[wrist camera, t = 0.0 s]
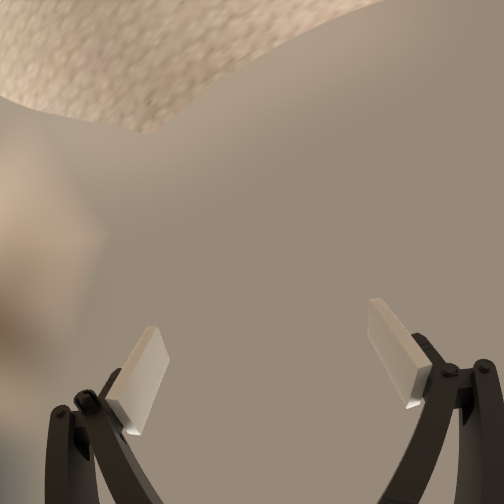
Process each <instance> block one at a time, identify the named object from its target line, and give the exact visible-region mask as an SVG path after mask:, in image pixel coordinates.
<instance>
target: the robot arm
mask: <svg viewBox="0 0 504 504" xmlns="http://www.w3.org/2000/svg"><path fill="white" fill-rule="evenodd" d="M367 336H368V338H369V340H370V342H371V344H372V345H373V347H374V349H375V351H376V353H377V354H378V356H379V358H380V360H381V362H382V364H383V365H384V367H385V369H386V371H387V373H388V375H389V377H390V378H391V380H392V382H393V384H394V386H395V388H396V390H397V392H398V394H399V396H400V398H401V399H402V402H403V404H404V405H405V407H406V409H407V408H410V407H413V406H416V405H419V404H420V401H421V399H422V397H423V398H424V400H425V405H424V407H423V410H422V412H421V415H420V418H419V420H418V423H417V425H416V428H415V430H414V433H413V435H412V437H411V440H410V442H409V444H408V447H407V449H406V451H405V453H404V455H403V457H402V459H401V461H400V463H399V465H398V467H397V469H396V471H395V473H394V475H393V476H392V478H391V480H390V482H389V484H388V485H387V487H386V489H385V491H384V492H383V494H382V496H381V497H380V499H379V501H378V502H377V504H418V503H419V501H420V499H421V497H422V495H423V493H424V491H425V489H426V486H427V484H428V482H429V479H430V477H431V474H432V472H433V470H434V467H435V465H436V462H437V459H438V456H439V454H440V451H441V448H442V445H443V442H444V439H445V436H446V433H447V430H448V426H449V423H450V419H451V416H452V412H453V409H457V408H459V461H458V475H457V486H456V494H455V501H454V504H504V401H503V396H502V392H501V387H500V382H499V378H498V374H497V370H496V367H495V365H494V363H493V362H491V361H489V360H487V359H480V360H478V361H476V362H475V364H474V366H473V368H470V369H459V368H458V367H457V366H456V365H454V364H451V363H446V362H445V361H444V360H443V358H442V357H441V356H440V354H439V353H438V352H437V351H436V350H435V348H433V346H432V345H431V344H430V342H429V341H428V340H427V338H426V337H425V336H423V335H421V334H419V333H415V334H411V335H410V333H409V332H408V331H407V330H406V328H405V327H404V326H403V324H402V323H401V322H400V321H399V319H398V318H397V317H396V316H395V314H394V313H393V312H392V311H391V310H390V308H389V307H388V306H387V305H386V303H385V302H384V301H383V300H382V299H381V298H376V299H370V301H369V320H368V334H367ZM169 361H170V359H169V356H168V353H167V351H166V348H165V346H164V343H163V340H162V337H161V334H160V332H159V329H158V326H152V327H147V328H146V329H145V331H144V333H143V334H142V336H141V337H140V339H139V341H138V343H137V344H136V346H135V347H134V349H133V351H132V353H131V354H130V356H129V358H128V359H127V361H126V363H125V364H124V366H123V368H118V369H116V370H115V371H114V372H113V373H112V374H111V375H110V377H109V379H108V381H107V382H106V384H105V386H104V387H103V389H102V391H101V392H100V394H99V396H98V397H97V395H96V394H95V392H94V391H92V390H87V389H86V390H83V391H81V392H79V393H78V394H77V395H76V396H75V398H74V403H75V405H76V406H77V408H78V409H79V411H71V410H70V408H69V407H68V406H66V405H60V406H57V407H56V408H54V409H53V411H52V412H51V415H50V423H49V430H48V439H47V449H46V464H45V504H100V503H99V498H98V491H97V483H96V473H95V462H94V454H95V457H96V459H97V462H98V465H99V467H100V469H101V472H102V474H103V477H104V479H105V481H106V484H107V486H108V488H109V490H110V492H111V494H112V497H113V499H114V501H115V503H116V504H164V503H163V502H162V500H161V499H160V497H159V496H158V495H157V493H156V491H155V490H154V488H153V487H152V485H151V483H150V482H149V480H148V479H147V477H146V475H145V474H144V472H143V470H142V469H141V467H140V465H139V463H138V462H137V460H136V458H135V456H134V454H133V452H132V451H131V449H130V447H129V445H128V443H127V441H126V439H125V437H124V435H123V434H122V430H123V427H124V428H125V430H126V431H127V432H128V434H135V435H141V433H142V430H143V428H144V425H145V422H146V420H147V417H148V415H149V412H150V409H151V407H152V404H153V402H154V399H155V396H156V394H157V391H158V389H159V386H160V384H161V381H162V378H163V376H164V374H165V371H166V369H167V366H168V363H169Z"/></svg>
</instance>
